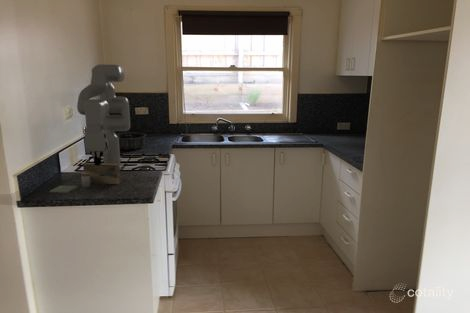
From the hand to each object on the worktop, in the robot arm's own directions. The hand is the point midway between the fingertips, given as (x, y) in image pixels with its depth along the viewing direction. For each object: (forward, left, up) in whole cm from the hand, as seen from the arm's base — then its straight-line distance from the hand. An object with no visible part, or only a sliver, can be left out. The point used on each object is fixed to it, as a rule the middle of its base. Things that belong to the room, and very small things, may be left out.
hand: (98, 164), depth 177 cm
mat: (+4, -17, -12) cm, 21 cm away
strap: (-3, +3, -5) cm, 6 cm away
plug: (-3, -9, -12) cm, 15 cm away
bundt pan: (-100, -27, -13) cm, 105 cm away
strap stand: (-10, -4, -12) cm, 16 cm away
